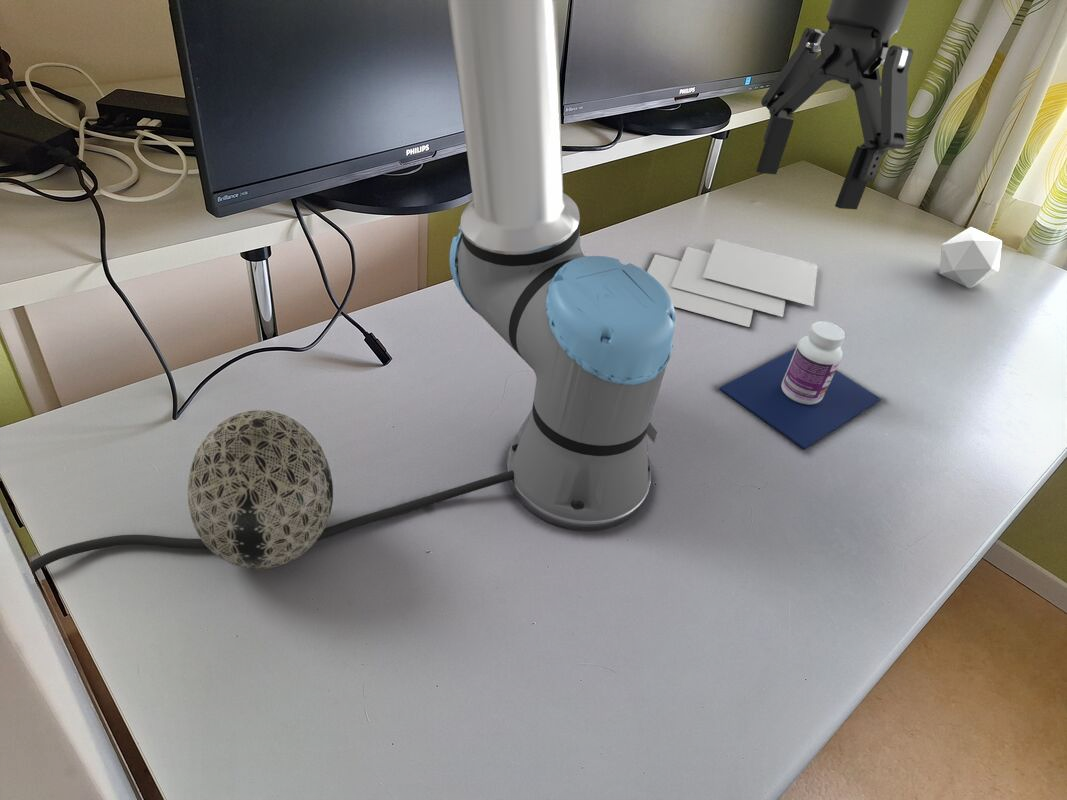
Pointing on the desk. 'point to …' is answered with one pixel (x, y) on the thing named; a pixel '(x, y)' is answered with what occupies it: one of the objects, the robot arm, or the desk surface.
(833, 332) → the pill bottle
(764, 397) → the cloth
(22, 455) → the desk surface
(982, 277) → the die
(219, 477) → the decorative egg
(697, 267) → the paper stack
